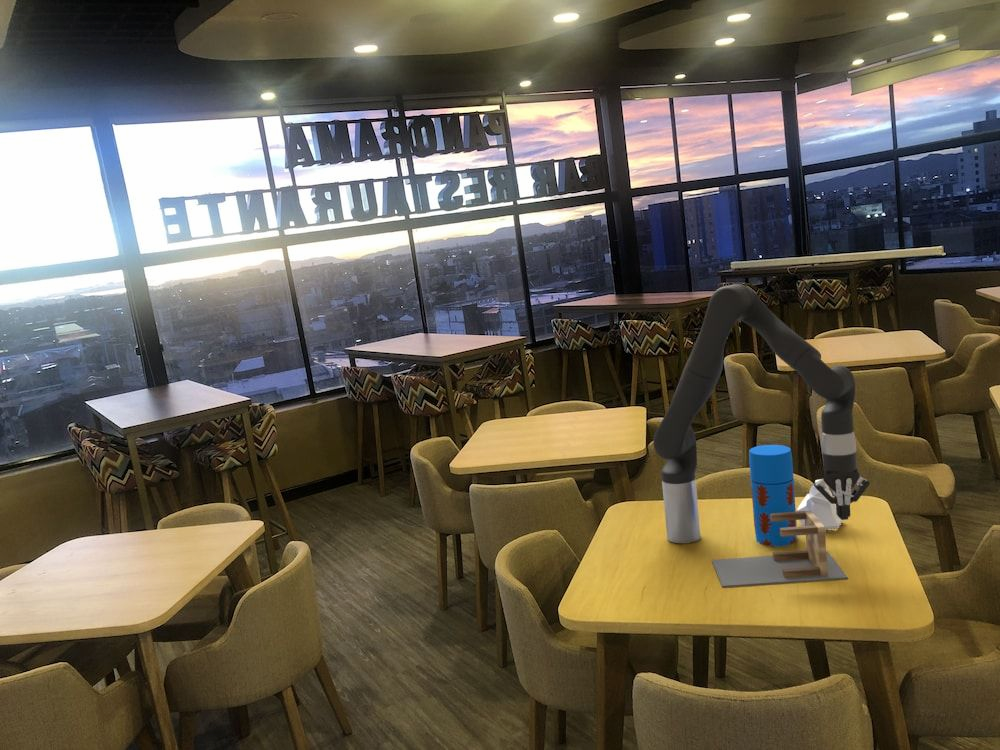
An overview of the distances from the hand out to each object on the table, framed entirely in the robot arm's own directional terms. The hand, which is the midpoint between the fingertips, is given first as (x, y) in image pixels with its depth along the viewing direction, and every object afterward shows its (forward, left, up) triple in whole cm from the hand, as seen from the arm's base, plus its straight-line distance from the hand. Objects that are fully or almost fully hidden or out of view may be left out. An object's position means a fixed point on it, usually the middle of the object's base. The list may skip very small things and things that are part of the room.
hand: (843, 518), depth 196 cm
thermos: (-20, -12, -12) cm, 26 cm away
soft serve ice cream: (-29, +2, -12) cm, 32 cm away
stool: (0, -11, -11) cm, 16 cm away
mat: (0, -17, -12) cm, 20 cm away
